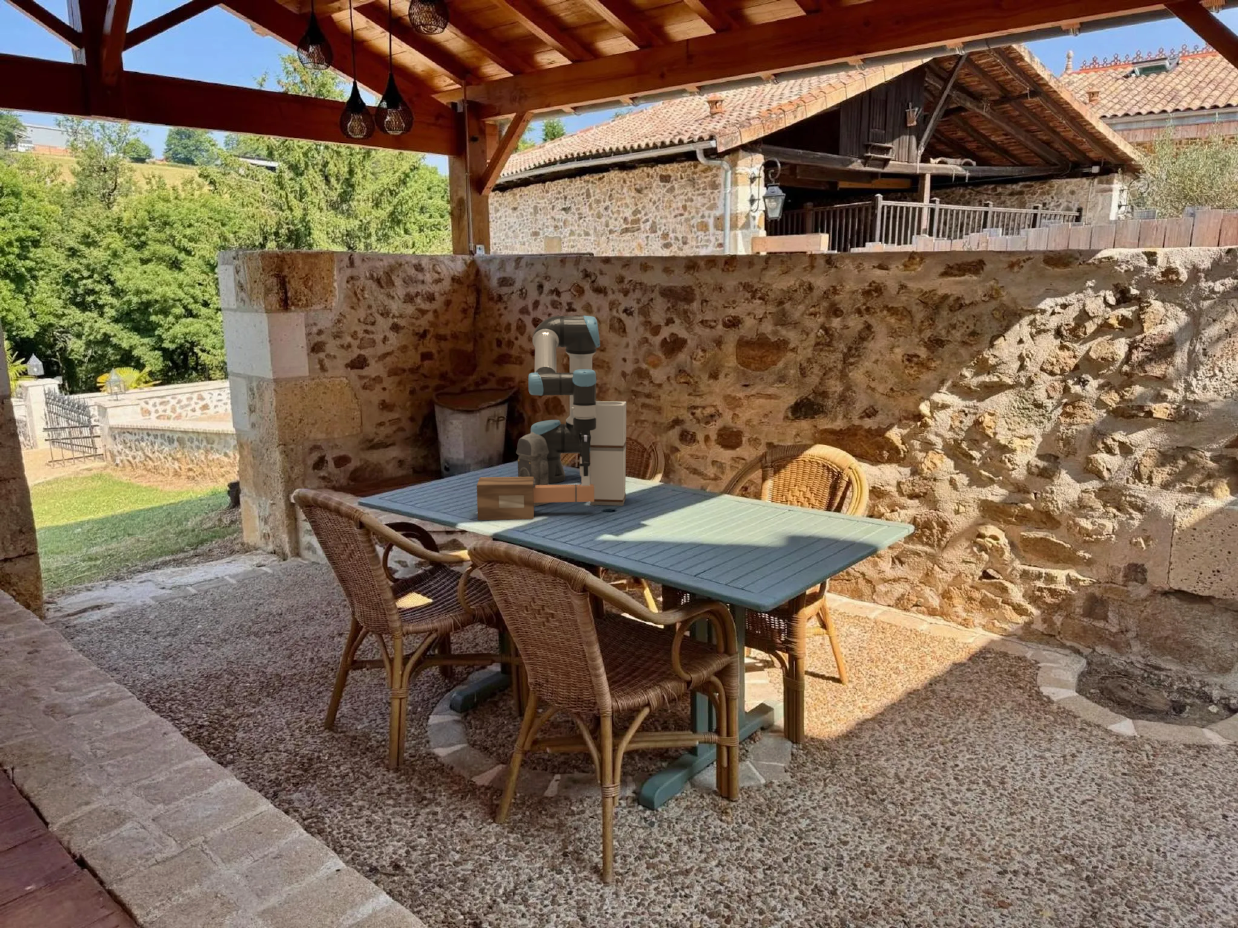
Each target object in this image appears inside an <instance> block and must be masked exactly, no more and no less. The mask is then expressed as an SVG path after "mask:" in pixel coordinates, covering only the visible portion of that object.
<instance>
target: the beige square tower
mask: <svg viewBox="0 0 1238 928" xmlns="http://www.w3.org/2000/svg"><path fill="white" fill-rule="evenodd" d="M595 418H596V429H594V430H590V435H591V441H590V484H594V502H589V503H590V504H589V505H590V506H592V505H593V506H620V507H621V506H624V504H625V501H626V497H627V495H626V494H627V493H626V482H627V481H626V467H627V466H626V464H627V463H626V462H627V461H626V454H627V453H626V450H627V401H610V400H609V401H606V400H605V401H603V400H602V401H601V400H596V416H595Z"/></svg>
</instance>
